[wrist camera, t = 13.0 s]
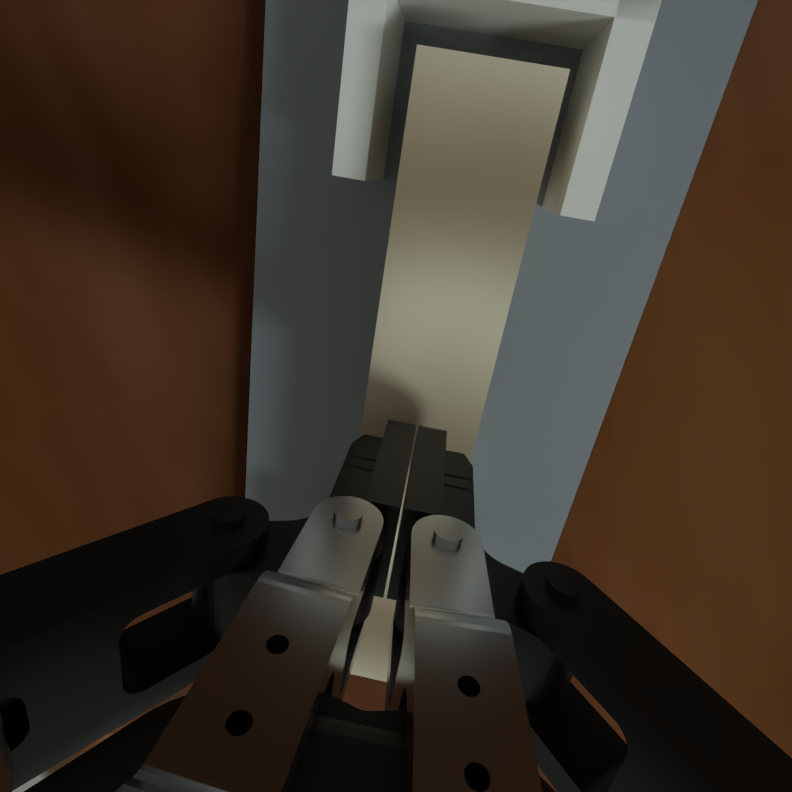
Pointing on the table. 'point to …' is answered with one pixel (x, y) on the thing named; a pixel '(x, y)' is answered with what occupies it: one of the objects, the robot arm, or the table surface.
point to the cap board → (544, 251)
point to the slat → (453, 255)
